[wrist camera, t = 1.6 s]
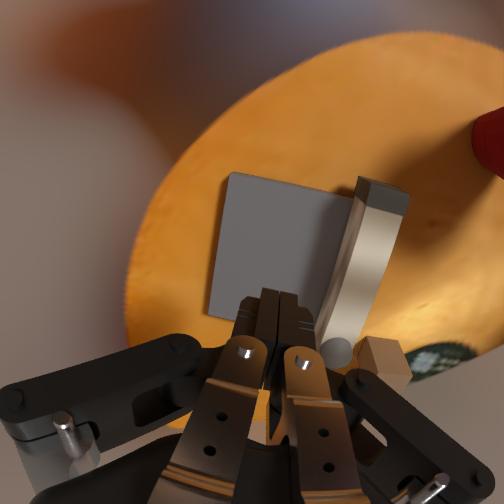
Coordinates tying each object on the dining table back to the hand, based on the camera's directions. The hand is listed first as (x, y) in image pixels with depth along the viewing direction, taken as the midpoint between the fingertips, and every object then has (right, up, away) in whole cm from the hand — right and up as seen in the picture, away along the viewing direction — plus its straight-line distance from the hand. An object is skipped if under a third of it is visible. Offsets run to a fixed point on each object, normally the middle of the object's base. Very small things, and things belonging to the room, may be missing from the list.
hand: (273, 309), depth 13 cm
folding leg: (+8, +1, +14) cm, 16 cm away
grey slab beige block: (+6, 0, +17) cm, 18 cm away
